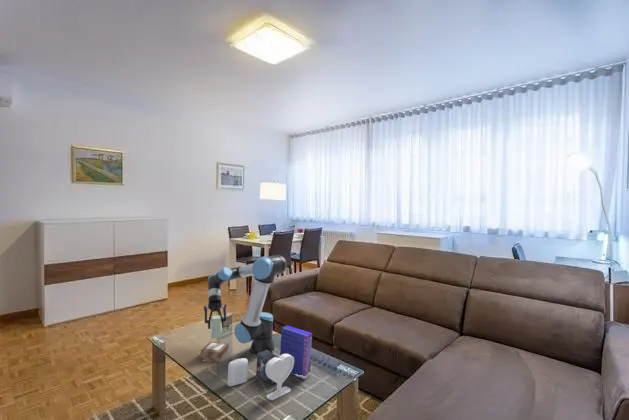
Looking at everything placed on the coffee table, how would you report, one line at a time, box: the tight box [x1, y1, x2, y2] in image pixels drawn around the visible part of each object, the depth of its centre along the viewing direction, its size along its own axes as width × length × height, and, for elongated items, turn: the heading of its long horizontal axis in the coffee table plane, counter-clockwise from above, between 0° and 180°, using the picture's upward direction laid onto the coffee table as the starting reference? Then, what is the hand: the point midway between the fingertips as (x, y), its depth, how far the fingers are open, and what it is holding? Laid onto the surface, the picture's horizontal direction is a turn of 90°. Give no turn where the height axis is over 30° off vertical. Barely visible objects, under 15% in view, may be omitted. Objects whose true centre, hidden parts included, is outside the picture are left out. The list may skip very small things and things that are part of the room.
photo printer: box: [227, 357, 249, 387], centre depth 164 cm, size 10×4×12 cm, turn 123°
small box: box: [255, 350, 280, 386], centre depth 170 cm, size 13×7×12 cm, turn 45°
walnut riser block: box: [200, 340, 230, 364], centre depth 190 cm, size 12×12×6 cm
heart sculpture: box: [265, 354, 294, 401], centre depth 157 cm, size 16×5×18 cm, turn 135°
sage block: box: [210, 315, 221, 340], centre depth 189 cm, size 5×5×12 cm
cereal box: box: [279, 325, 313, 376], centre depth 176 cm, size 17×5×24 cm, turn 58°
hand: (216, 333), depth 186 cm, fingers closed on sage block, 5 cm apart
